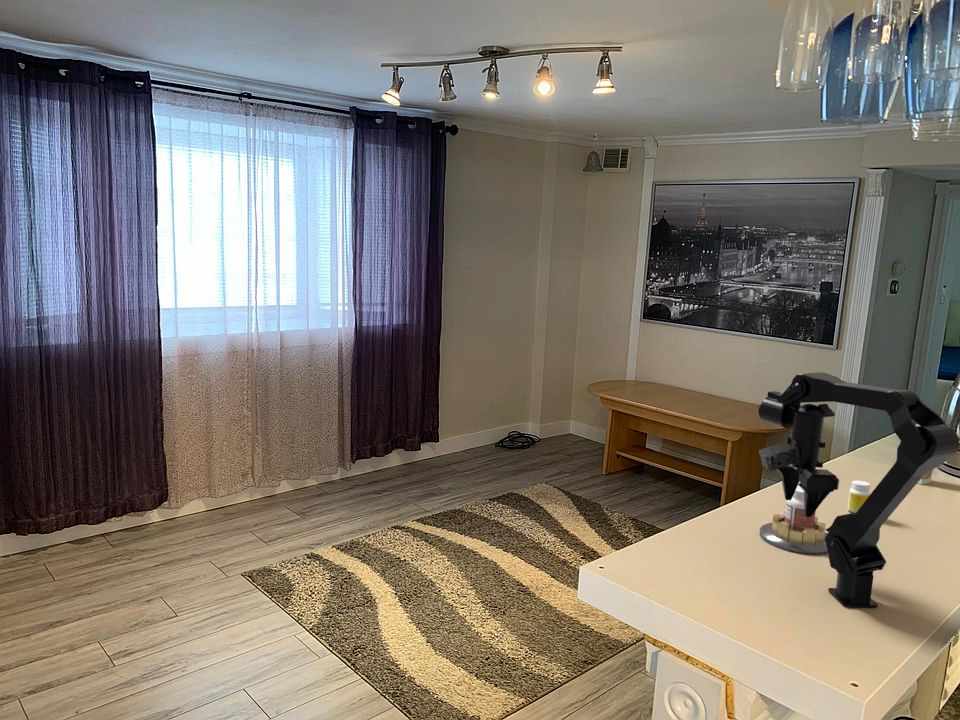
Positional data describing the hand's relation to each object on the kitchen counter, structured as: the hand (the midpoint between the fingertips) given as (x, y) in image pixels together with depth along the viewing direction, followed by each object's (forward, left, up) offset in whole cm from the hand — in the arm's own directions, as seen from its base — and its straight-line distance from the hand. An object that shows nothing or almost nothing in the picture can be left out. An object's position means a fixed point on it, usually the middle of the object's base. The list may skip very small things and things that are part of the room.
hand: (797, 508), depth 148 cm
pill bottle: (+15, -8, -12) cm, 21 cm away
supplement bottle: (+32, -31, -13) cm, 46 cm away
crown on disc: (+15, -8, -13) cm, 21 cm away
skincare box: (+61, -64, -13) cm, 89 cm away
